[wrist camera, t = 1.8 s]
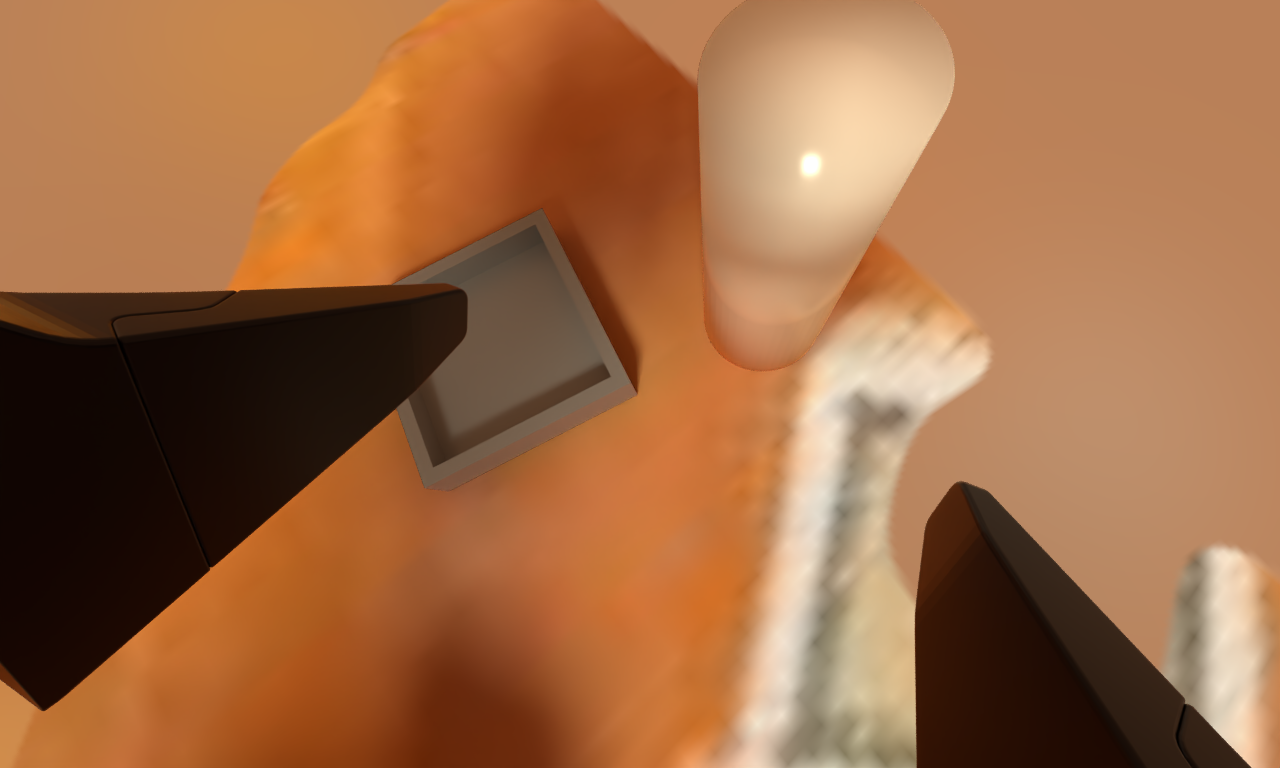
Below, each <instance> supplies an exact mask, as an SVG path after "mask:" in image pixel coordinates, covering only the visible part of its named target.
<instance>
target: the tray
mask: <svg viewBox="0 0 1280 768" xmlns="http://www.w3.org/2000/svg"><path fill="white" fill-rule="evenodd" d="M434 283H447V284H450V285H453V286H455V287H458V288H461V289H463V290H464V291H465V292H466V294H467V297H468V324H467V333H466V336H465V338H464V339H463V341H462V342H461V343H460V344H459V345H458V346H457V348H456V349H455V350H454V351H453V352H452V353H451V354H450V355H449V356H448V357H447V358H446V359H445V360H444V362H443V363H442V364H441V365H440V366H439V367H438V368H437V369H436V370H435V371H434V372H433V373H432V374H431V375H430V377H429V378H428V379H427V380H426V381H425V382H424V383H423V384H422V385H421V386H420V387H419V388H418V389H417V390H416V391H415V392H414V393H413V394H412V395H411V396H410V397H409V398H407V399H406V400H405V401H404V402H403V403H402V404H401V405H399V406H398V407H397V411H398V414H399V417H400V420H401V423H402V425H403V428H404V431H405V434H406V437H407V440H408V443H409V445H410V448H411V451H412V454H413V457H414V460H415V462H416V465H417V468H418V471H419V474H420V477H421V480H422V482H423V485H424V488H427V489H434V490H441V491H450V490H452V489H454V488H456V487H458V486H460V485H462V484H464V483H466V482H468V481H470V480H472V479H474V478H476V477H478V476H480V475H482V474H484V473H486V472H488V471H489V470H491V469H493V468H495V467H497V466H499V465H501V464H503V463H505V462H507V461H509V460H511V459H513V458H515V457H517V456H519V455H521V454H523V453H525V452H527V451H529V450H530V449H532V448H534V447H536V446H538V445H540V444H542V443H544V442H546V441H548V440H550V439H552V438H554V437H556V436H558V435H560V434H562V433H564V432H566V431H568V430H570V429H571V428H573V427H575V426H577V425H579V424H581V423H583V422H585V421H587V420H589V419H591V418H593V417H595V416H597V415H599V414H601V413H603V412H605V411H607V410H609V409H611V408H613V407H614V406H616V405H618V404H620V403H622V402H624V401H626V400H628V399H630V398H632V397H634V396H636V395H637V393H636V391H635V389H634V387H633V385H632V383H631V381H630V379H629V377H628V375H627V373H626V371H625V369H624V367H623V365H622V363H621V361H620V359H619V357H618V355H617V353H616V351H615V349H614V347H613V346H612V344H611V342H610V340H609V338H608V336H607V334H606V332H605V330H604V328H603V326H602V324H601V322H600V320H599V318H598V316H597V314H596V312H595V310H594V308H593V306H592V304H591V302H590V300H589V298H588V296H587V294H586V292H585V290H584V289H583V287H582V285H581V283H580V281H579V279H578V277H577V275H576V273H575V271H574V269H573V267H572V265H571V263H570V261H569V259H568V257H567V255H566V253H565V251H564V249H563V247H562V245H561V243H560V241H559V239H558V237H557V235H556V233H555V232H554V230H553V228H552V226H551V224H550V222H549V220H548V218H547V216H546V214H545V213H544V211H543V209H542V208H541V209H539V210H537V211H535V212H533V213H531V214H529V215H528V216H526V217H524V218H522V219H520V220H518V221H516V222H514V223H512V224H510V225H508V226H506V227H504V228H502V229H500V230H498V231H496V232H494V233H492V234H490V235H488V236H486V237H484V238H482V239H480V240H478V241H477V242H475V243H473V244H471V245H469V246H467V247H465V248H463V249H461V250H459V251H457V252H455V253H453V254H451V255H449V256H447V257H445V258H443V259H441V260H439V261H437V262H435V263H433V264H431V265H429V266H427V267H425V268H424V269H422V270H420V271H418V272H416V273H414V274H412V275H410V276H408V277H406V278H404V279H402V280H400V281H398V282H396V283H394V284H392V285H406V284H434Z"/></svg>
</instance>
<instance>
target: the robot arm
mask: <svg viewBox="0 0 1280 768" xmlns="http://www.w3.org/2000/svg"><path fill="white" fill-rule="evenodd" d="M467 324H468V297H467V294H466V292H465V291H464V290H463V289H461V288H458V287H455V286H453V285H450V284H447V283H434V284H406V285H377V286H349V287H320V288H292V289H264V290H240V291H238V292H236V291H202V292H156V293H155V292H152V293H18V292H0V680H1V681H3V682H4V683H6V684H7V685H8V686H9V687H11V688H12V689H13V690H15V691H16V692H17V693H19V694H20V695H21V696H23V697H24V698H25V699H27V700H28V701H29V702H31V703H32V704H33V705H35V706H36V707H37V708H38V709H40V710H41V711H45V710H47V709H48V708H50V707H51V706H53V705H54V704H55V703H57V702H58V701H59V700H61V699H62V698H63V697H64V696H66V695H67V694H68V693H69V692H70V691H71V690H73V689H74V688H75V687H76V686H77V685H78V684H79V683H81V682H82V681H83V680H84V679H85V678H86V677H88V676H89V675H90V674H91V673H92V672H93V671H94V670H96V669H97V668H98V667H99V666H100V665H101V664H103V663H104V662H105V661H106V660H107V659H108V658H109V657H111V656H112V655H113V654H114V653H115V652H116V651H118V650H119V649H120V648H121V647H122V646H123V645H124V644H126V643H127V642H128V641H129V640H130V639H131V638H132V637H134V636H135V635H136V634H137V633H138V632H139V631H141V630H142V629H143V628H144V627H145V626H146V625H147V624H149V623H150V622H151V621H152V620H153V619H154V618H156V617H157V616H158V615H159V614H160V613H161V612H162V611H164V610H165V609H166V608H167V607H168V606H169V605H171V604H172V603H173V602H174V601H175V600H176V599H177V598H179V597H180V596H181V595H182V594H183V593H184V592H185V591H187V590H188V589H189V588H190V587H191V586H192V585H194V584H195V583H196V582H197V581H198V580H199V579H200V578H202V577H203V576H204V575H205V574H206V573H207V572H209V571H210V567H214V566H215V565H216V564H217V563H218V562H219V561H221V560H222V559H223V558H224V557H225V556H226V555H228V554H229V553H230V552H231V551H232V550H233V549H234V548H236V547H237V546H238V545H239V544H240V543H241V542H243V541H244V540H245V539H246V538H247V537H248V536H249V535H251V534H252V533H253V532H254V531H255V530H256V529H258V528H259V527H260V526H261V525H262V524H263V523H264V522H266V521H267V520H268V519H269V518H270V517H271V516H273V515H274V514H275V513H276V512H277V511H278V510H279V509H281V508H282V507H283V506H284V505H285V504H286V503H288V502H289V501H290V500H291V499H292V498H293V497H294V496H296V495H297V494H298V493H299V492H300V491H301V490H303V489H304V488H305V487H306V486H307V485H308V484H309V483H311V482H312V481H313V480H314V479H315V478H316V477H318V476H319V475H320V474H321V473H322V472H323V471H324V470H326V469H327V468H328V467H329V466H330V465H331V464H333V463H334V462H335V461H336V460H337V459H338V458H339V457H341V456H342V455H343V454H344V453H345V452H346V451H348V450H349V449H350V448H351V447H352V446H353V445H354V444H356V443H357V442H358V441H359V440H360V439H361V438H363V437H364V436H365V435H366V434H367V433H368V432H369V431H371V430H372V429H373V428H374V427H375V426H376V425H378V424H379V423H380V422H381V421H382V420H383V419H384V418H386V417H387V416H388V415H389V414H390V413H391V412H393V411H394V410H395V409H396V408H397V407H398V406H399V405H401V404H402V403H403V402H404V401H405V400H406V399H407V398H409V397H410V396H411V395H412V394H413V393H414V392H415V391H416V390H417V389H418V388H419V387H420V386H421V385H422V384H423V383H424V382H425V381H426V380H427V379H428V378H429V377H430V375H431V374H432V373H433V372H434V371H435V370H436V369H437V368H438V367H439V366H440V365H441V364H442V363H443V362H444V360H445V359H446V358H447V357H448V356H449V355H450V354H451V353H452V352H453V351H454V350H455V349H456V348H457V346H458V345H459V344H460V343H461V342H462V341H463V339H464V338H465V336H466V333H467ZM915 680H916V752H917V768H1251V767H1250V766H1249V765H1248V764H1247V763H1246V762H1245V761H1244V760H1243V759H1242V757H1241V756H1240V755H1239V754H1238V753H1237V752H1236V751H1235V750H1234V749H1233V748H1232V747H1231V746H1230V745H1229V744H1228V743H1227V742H1226V741H1225V740H1224V739H1223V738H1222V737H1221V736H1220V735H1219V734H1218V733H1217V732H1216V731H1215V730H1214V728H1213V727H1212V726H1211V725H1210V724H1209V723H1208V722H1207V721H1206V720H1205V719H1204V718H1203V717H1202V716H1201V715H1200V714H1199V713H1198V712H1197V710H1196V709H1195V708H1194V707H1193V706H1191V705H1189V704H1185V698H1184V697H1183V696H1182V695H1181V694H1180V693H1179V692H1178V691H1177V690H1176V689H1175V688H1174V686H1173V685H1172V684H1171V683H1170V682H1169V681H1168V680H1167V679H1166V678H1165V677H1164V676H1163V675H1162V674H1161V673H1160V672H1159V671H1158V670H1157V669H1156V668H1155V666H1153V664H1152V663H1151V662H1150V661H1149V660H1148V659H1147V658H1146V657H1145V656H1144V655H1143V654H1142V653H1141V652H1140V651H1139V650H1138V649H1137V648H1136V647H1135V645H1133V643H1132V642H1131V641H1130V640H1129V639H1128V638H1127V637H1126V636H1125V635H1124V634H1123V633H1122V632H1121V631H1120V630H1119V629H1118V628H1117V627H1116V625H1115V624H1114V623H1113V622H1112V621H1111V620H1110V619H1109V618H1108V617H1107V616H1106V615H1105V614H1104V613H1103V612H1102V611H1101V610H1100V609H1099V608H1098V606H1097V605H1096V604H1095V603H1094V602H1093V601H1092V600H1091V599H1090V598H1089V597H1088V596H1087V595H1086V594H1085V593H1084V592H1083V591H1082V590H1081V589H1080V588H1079V587H1078V586H1077V584H1076V583H1075V582H1074V581H1073V580H1072V579H1071V578H1070V577H1069V576H1068V575H1067V574H1066V573H1065V572H1064V571H1063V570H1062V569H1061V567H1059V565H1058V564H1057V563H1056V562H1055V561H1054V560H1053V559H1052V558H1051V557H1050V556H1049V555H1048V554H1047V553H1046V552H1045V551H1044V550H1043V549H1042V547H1041V546H1039V544H1038V543H1037V542H1036V541H1035V540H1034V539H1033V538H1032V537H1031V536H1030V535H1029V534H1028V533H1027V532H1026V531H1025V530H1024V529H1023V528H1022V526H1021V525H1020V524H1019V523H1018V522H1017V521H1016V520H1015V519H1014V518H1013V517H1012V516H1011V515H1010V514H1009V513H1008V512H1007V511H1006V510H1005V509H1004V507H1003V506H1002V505H1001V504H1000V503H999V502H998V501H997V500H996V499H995V498H994V497H993V496H992V495H991V494H990V493H989V492H988V491H986V490H985V489H982V488H979V487H977V486H974V485H972V484H969V483H966V482H963V481H959V482H956V483H955V484H954V485H953V486H952V487H951V488H950V489H949V491H948V492H947V494H946V495H945V496H944V497H943V499H942V500H941V502H940V503H939V504H938V506H937V507H936V509H935V510H934V512H933V513H932V514H931V516H930V517H929V519H928V521H927V524H926V527H925V532H924V540H923V549H922V557H921V565H920V573H919V582H918V589H917V598H916V608H915Z"/></svg>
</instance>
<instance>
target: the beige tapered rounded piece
mask: <svg viewBox="0 0 1280 768" xmlns="http://www.w3.org/2000/svg"><path fill="white" fill-rule="evenodd" d="M954 67H955V66H954V60H953V55H952V50H951V47H950V45H949V42H948V39H947V37H946V35H945V34H944V32H943V30H942V28H941V27H940V25H939V24H938V23H937V22H936V20H935V19H934V18H933V16H932V15H931V14H930V13H928V11H926V10H925V9H924V8H923V7H922V6H921V5H920V4H918V3H917V2H916V1H914V0H746V1H744V2H743V3H742V4H740V5H739V6H738V7H736V8H735V9H734V10H733V11H732V12H731V13H730V14H728V15H727V16H726V17H725V18H724V19H723V21H722V22H721V23H720V24H719V25H718V27H717V28H716V29H715V30H714V32H713V34H712V35H711V37H710V38H709V40H708V42H707V44H706V46H705V49H704V51H703V53H702V57H701V60H700V64H699V70H698V113H699V149H700V185H701V221H702V257H703V293H704V323H705V329H706V332H707V335H708V338H709V340H710V342H711V343H712V345H713V346H714V348H715V349H716V350H717V351H718V353H719V354H720V355H721V356H723V357H724V358H725V359H726V360H728V361H729V362H731V363H733V364H735V365H737V366H739V367H742V368H745V369H748V370H753V371H772V370H777V369H781V368H784V367H787V366H789V365H791V364H793V363H795V362H796V361H798V360H799V359H800V358H802V357H803V356H804V355H805V354H806V353H807V352H808V351H809V350H810V348H811V347H812V345H813V344H814V342H815V340H816V339H817V337H818V335H819V333H820V332H821V330H822V328H823V326H824V325H825V323H826V321H827V319H828V318H829V316H830V314H831V312H832V311H833V309H834V307H835V305H836V303H837V302H838V300H839V298H840V296H841V295H842V293H843V291H844V289H845V288H846V286H847V284H848V282H849V281H850V279H851V277H852V275H853V273H854V272H855V270H856V268H857V266H858V265H859V263H860V261H861V259H862V258H863V256H864V254H865V252H866V251H867V249H868V247H869V245H870V244H871V242H872V240H873V238H874V236H875V235H876V233H877V231H878V229H879V228H880V226H881V224H882V222H883V221H884V219H885V217H886V215H887V213H888V212H889V210H890V208H891V206H892V205H893V203H894V201H895V199H896V198H897V196H898V194H899V192H900V191H901V189H902V187H903V185H904V184H905V182H906V180H907V178H908V177H909V175H910V173H911V171H912V170H913V168H914V166H915V164H916V162H917V160H918V159H919V157H920V155H921V154H922V152H923V150H924V148H925V147H926V145H927V143H928V141H929V140H930V138H931V136H932V134H933V132H934V131H935V129H936V127H937V125H938V124H939V122H940V120H941V118H942V116H943V115H944V113H945V111H946V109H947V107H948V105H949V101H950V98H951V95H952V93H953V87H954V80H955V68H954Z"/></svg>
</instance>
